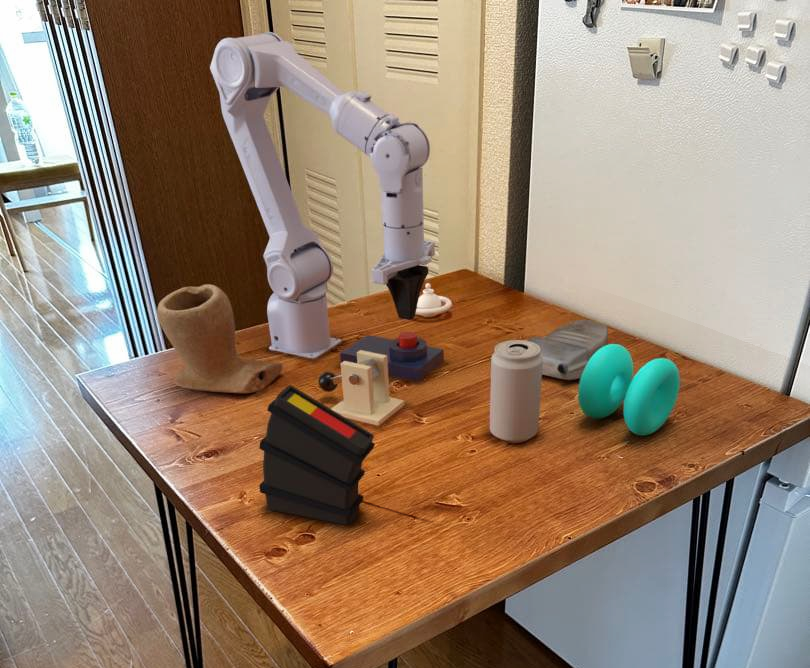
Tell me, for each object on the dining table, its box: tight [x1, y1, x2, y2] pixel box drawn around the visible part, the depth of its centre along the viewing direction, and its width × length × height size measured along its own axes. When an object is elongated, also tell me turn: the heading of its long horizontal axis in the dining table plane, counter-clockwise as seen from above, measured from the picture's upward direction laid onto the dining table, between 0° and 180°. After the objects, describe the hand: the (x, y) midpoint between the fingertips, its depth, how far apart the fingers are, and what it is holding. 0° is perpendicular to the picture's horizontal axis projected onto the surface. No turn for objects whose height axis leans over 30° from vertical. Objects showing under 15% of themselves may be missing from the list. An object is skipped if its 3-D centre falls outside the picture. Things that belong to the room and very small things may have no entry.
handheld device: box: [527, 319, 609, 381], centre depth 123 cm, size 10×20×5 cm, turn 146°
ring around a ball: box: [415, 282, 453, 318], centre depth 140 cm, size 8×6×8 cm
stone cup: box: [156, 283, 284, 394], centre depth 117 cm, size 15×12×15 cm
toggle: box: [318, 359, 380, 393], centre depth 112 cm, size 10×3×3 cm, turn 60°
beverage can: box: [489, 339, 543, 444], centre depth 103 cm, size 6×6×12 cm
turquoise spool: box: [577, 343, 681, 436], centre depth 104 cm, size 10×10×10 cm
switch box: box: [330, 350, 405, 427], centre depth 111 cm, size 8×7×8 cm
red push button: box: [397, 331, 418, 348], centre depth 122 cm, size 3×3×2 cm
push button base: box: [339, 334, 445, 382], centre depth 124 cm, size 14×8×4 cm, turn 60°
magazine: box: [258, 384, 376, 526], centre depth 90 cm, size 4×13×15 cm, turn 69°
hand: (406, 317), depth 120 cm, fingers closed
